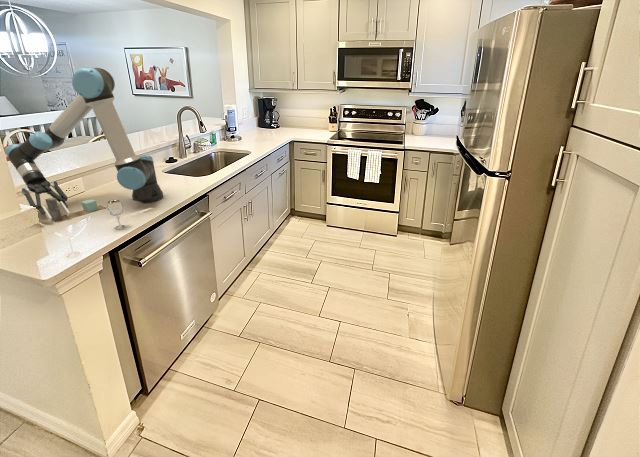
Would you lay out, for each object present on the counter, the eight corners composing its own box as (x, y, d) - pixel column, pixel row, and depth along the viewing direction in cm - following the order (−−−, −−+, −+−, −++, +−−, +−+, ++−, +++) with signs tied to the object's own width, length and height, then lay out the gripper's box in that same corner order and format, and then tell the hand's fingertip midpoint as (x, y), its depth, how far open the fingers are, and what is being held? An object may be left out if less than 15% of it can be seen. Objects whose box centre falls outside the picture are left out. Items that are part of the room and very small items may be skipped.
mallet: (100, 207, 177) (94, 186, 173) (107, 209, 174) (102, 188, 169) (51, 221, 160) (43, 198, 156) (58, 224, 157) (50, 201, 152)
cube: (93, 207, 173) (91, 199, 171) (98, 209, 171) (95, 200, 169) (83, 210, 170) (81, 201, 168) (88, 212, 168) (85, 203, 166)
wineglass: (113, 225, 156) (107, 200, 151) (128, 223, 158) (122, 198, 153) (111, 230, 151) (104, 204, 146) (126, 228, 153) (120, 202, 148)
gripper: (55, 175, 168) (81, 214, 166) (5, 185, 153) (33, 228, 152) (57, 166, 163) (84, 206, 161) (5, 175, 148) (34, 219, 147)
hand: (59, 216), depth 157 cm, fingers open, 6 cm apart
